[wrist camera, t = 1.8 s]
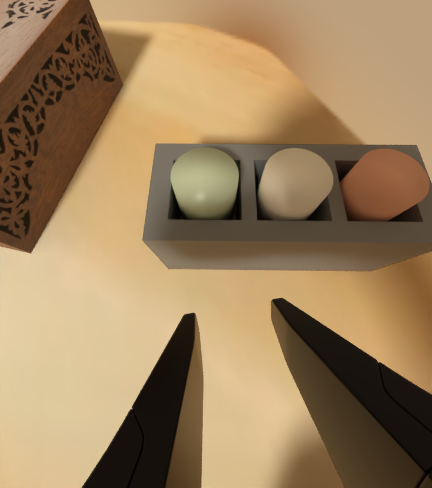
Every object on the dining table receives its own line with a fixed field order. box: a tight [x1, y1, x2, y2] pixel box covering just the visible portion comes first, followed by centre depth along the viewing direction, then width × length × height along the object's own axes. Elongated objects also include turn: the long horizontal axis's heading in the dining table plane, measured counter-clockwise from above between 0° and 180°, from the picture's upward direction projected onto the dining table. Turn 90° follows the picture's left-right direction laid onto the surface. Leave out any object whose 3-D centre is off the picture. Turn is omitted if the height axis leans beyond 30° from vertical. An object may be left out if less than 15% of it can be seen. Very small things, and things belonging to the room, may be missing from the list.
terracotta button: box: [340, 149, 429, 222], centre depth 16 cm, size 4×4×4 cm
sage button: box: [170, 148, 239, 220], centre depth 16 cm, size 4×4×4 cm
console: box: [142, 144, 432, 271], centre depth 19 cm, size 8×20×8 cm, turn 89°
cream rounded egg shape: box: [256, 148, 333, 221], centre depth 16 cm, size 4×4×4 cm
